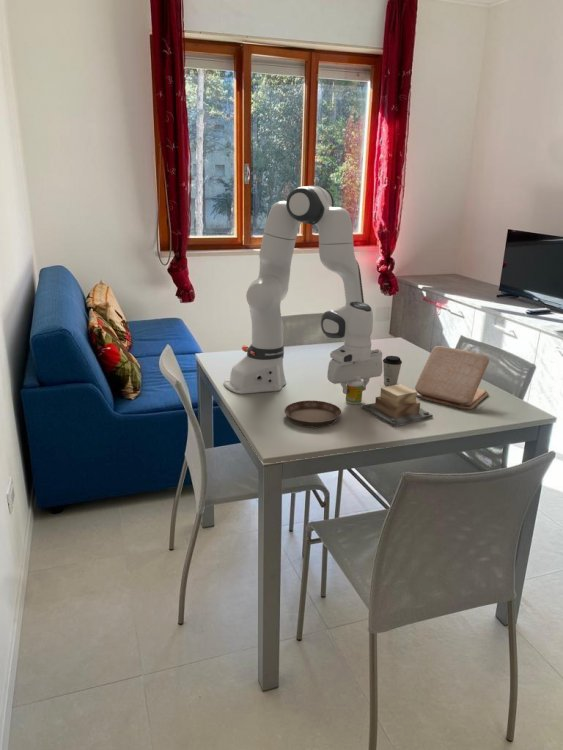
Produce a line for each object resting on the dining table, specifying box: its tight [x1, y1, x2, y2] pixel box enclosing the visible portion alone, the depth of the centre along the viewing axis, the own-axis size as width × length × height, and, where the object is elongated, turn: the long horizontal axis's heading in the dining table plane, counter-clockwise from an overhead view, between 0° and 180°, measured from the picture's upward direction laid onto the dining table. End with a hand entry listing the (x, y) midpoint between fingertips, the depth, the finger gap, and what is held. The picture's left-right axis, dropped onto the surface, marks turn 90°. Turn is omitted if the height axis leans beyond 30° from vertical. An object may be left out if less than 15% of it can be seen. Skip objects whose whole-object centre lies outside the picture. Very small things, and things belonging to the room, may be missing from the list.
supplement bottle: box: [345, 376, 363, 405], centre depth 196 cm, size 5×5×10 cm
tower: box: [361, 383, 434, 427], centre depth 188 cm, size 16×16×8 cm
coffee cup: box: [382, 355, 403, 386], centre depth 214 cm, size 7×7×10 cm
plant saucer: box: [284, 400, 342, 428], centre depth 183 cm, size 18×18×3 cm
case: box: [414, 345, 490, 410], centre depth 203 cm, size 20×21×16 cm
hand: (354, 391), depth 196 cm, fingers closed on supplement bottle, 5 cm apart
